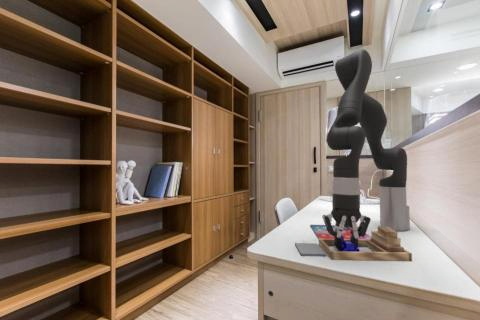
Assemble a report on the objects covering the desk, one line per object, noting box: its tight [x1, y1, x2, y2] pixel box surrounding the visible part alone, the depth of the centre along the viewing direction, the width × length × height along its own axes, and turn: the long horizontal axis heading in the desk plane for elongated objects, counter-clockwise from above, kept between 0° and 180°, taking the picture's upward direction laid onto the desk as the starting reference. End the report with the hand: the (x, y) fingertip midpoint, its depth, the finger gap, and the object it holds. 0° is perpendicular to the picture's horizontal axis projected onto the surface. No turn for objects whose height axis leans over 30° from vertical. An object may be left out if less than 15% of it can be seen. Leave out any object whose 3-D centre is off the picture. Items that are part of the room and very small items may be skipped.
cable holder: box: [334, 235, 360, 252], centre depth 66 cm, size 8×4×4 cm, turn 179°
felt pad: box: [294, 242, 327, 257], centre depth 68 cm, size 7×9×1 cm
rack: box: [318, 239, 413, 262], centre depth 67 cm, size 21×12×2 cm, turn 87°
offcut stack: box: [370, 226, 405, 252], centre depth 66 cm, size 5×9×6 cm, turn 177°
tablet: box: [309, 224, 371, 249], centre depth 83 cm, size 19×25×1 cm
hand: (345, 249), depth 67 cm, fingers closed on cable holder, 3 cm apart
